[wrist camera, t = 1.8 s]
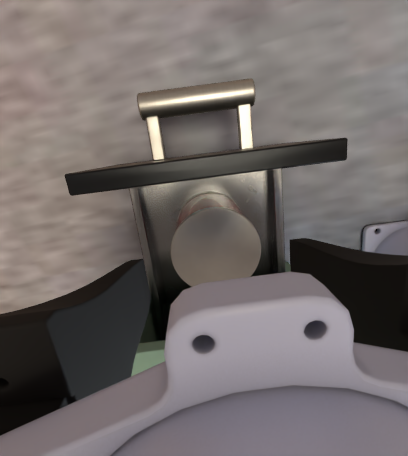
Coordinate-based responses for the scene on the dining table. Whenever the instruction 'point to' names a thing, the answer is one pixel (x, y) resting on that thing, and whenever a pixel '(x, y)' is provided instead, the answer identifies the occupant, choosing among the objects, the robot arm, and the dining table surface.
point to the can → (214, 241)
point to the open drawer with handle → (204, 181)
